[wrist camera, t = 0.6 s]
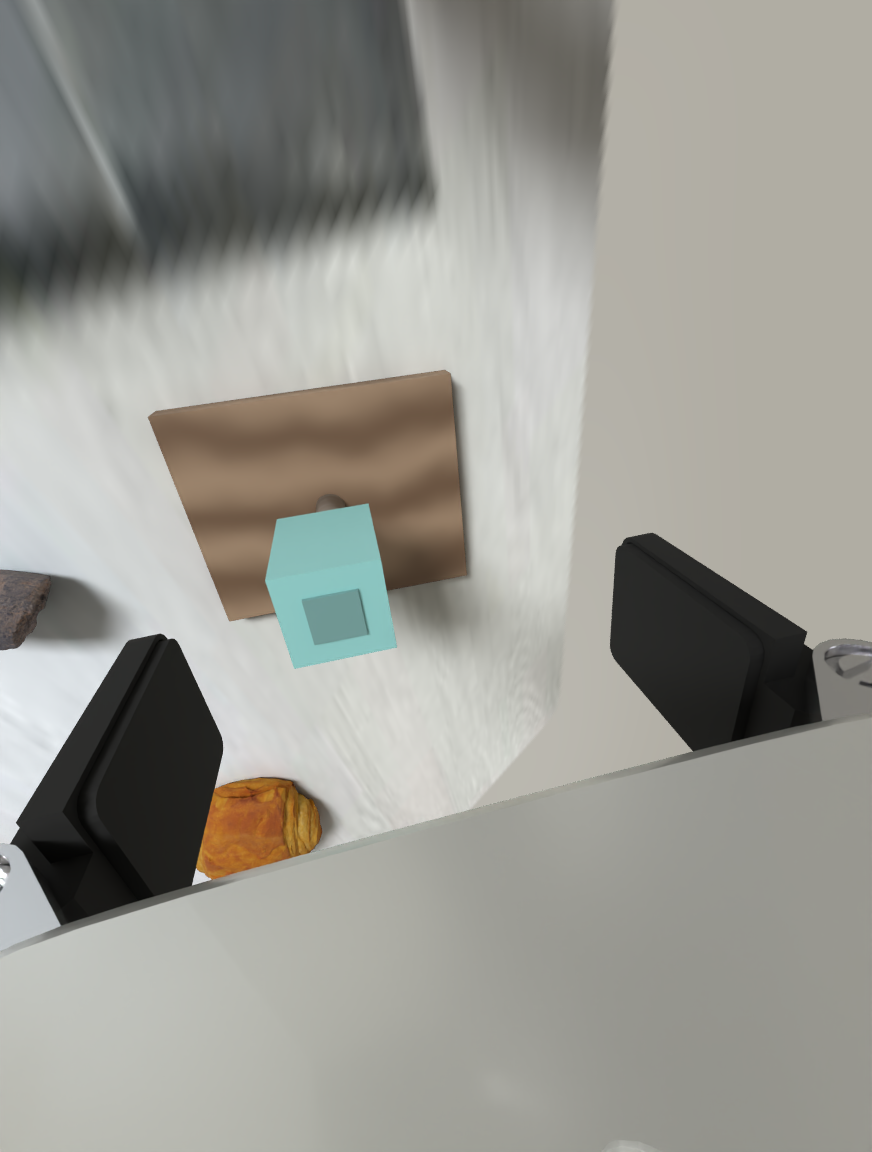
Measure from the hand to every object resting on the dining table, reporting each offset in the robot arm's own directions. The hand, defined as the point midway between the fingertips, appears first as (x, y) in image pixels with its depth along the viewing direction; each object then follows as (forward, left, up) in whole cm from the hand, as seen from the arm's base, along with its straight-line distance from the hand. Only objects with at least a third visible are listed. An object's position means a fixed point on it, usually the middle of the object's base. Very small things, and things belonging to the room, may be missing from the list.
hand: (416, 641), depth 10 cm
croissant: (+47, -20, -33) cm, 61 cm away
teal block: (+9, -3, -23) cm, 24 cm away
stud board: (+9, -3, -33) cm, 34 cm away
